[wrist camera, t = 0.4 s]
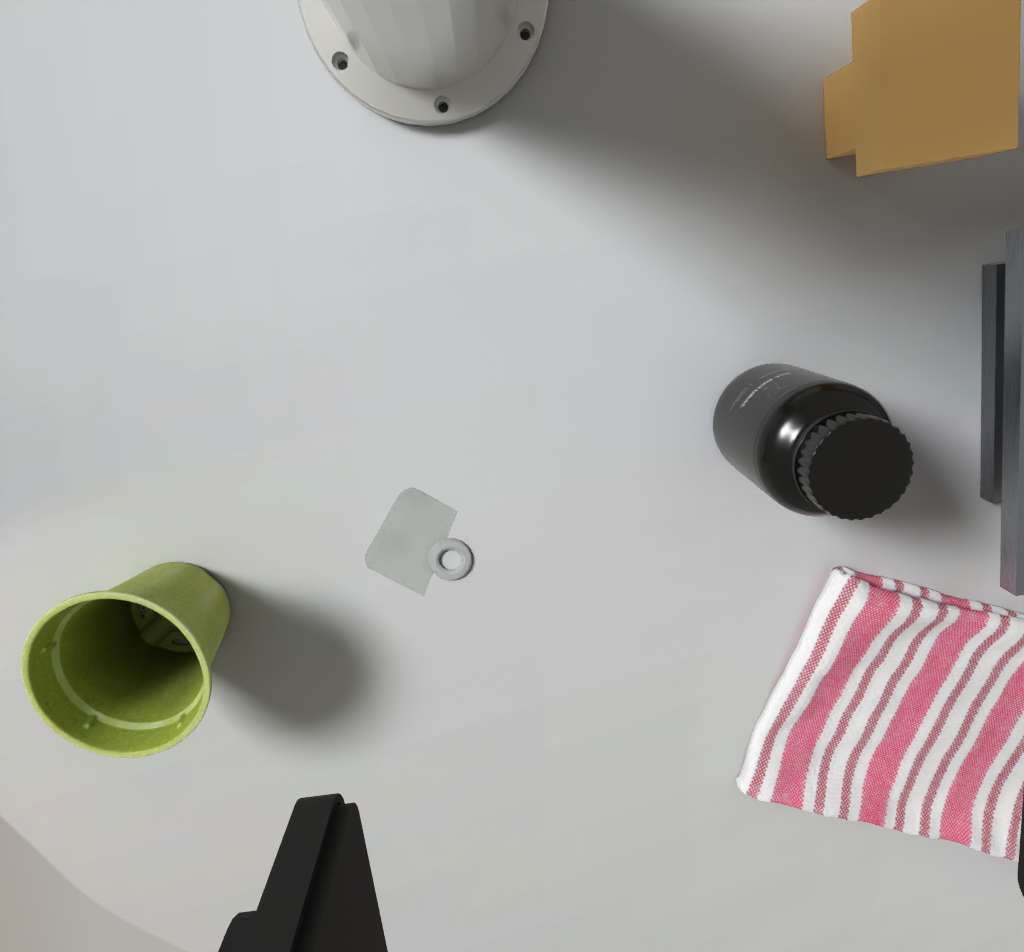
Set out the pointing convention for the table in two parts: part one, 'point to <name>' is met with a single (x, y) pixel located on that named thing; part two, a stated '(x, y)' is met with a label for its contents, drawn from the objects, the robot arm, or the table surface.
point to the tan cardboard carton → (926, 84)
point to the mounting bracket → (416, 542)
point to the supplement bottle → (812, 442)
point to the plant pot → (128, 661)
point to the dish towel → (899, 715)
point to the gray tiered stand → (1005, 403)
